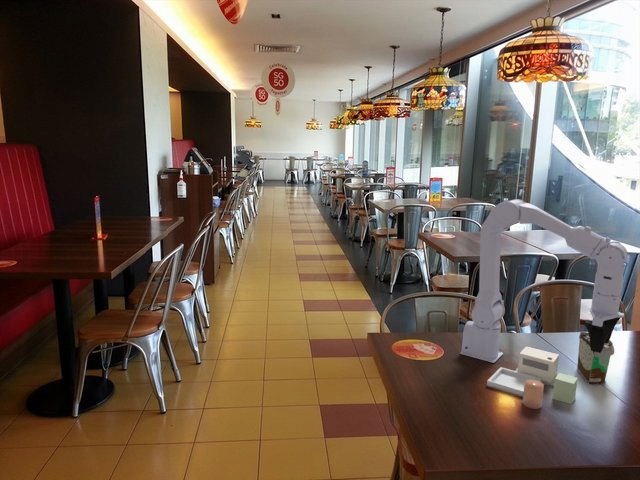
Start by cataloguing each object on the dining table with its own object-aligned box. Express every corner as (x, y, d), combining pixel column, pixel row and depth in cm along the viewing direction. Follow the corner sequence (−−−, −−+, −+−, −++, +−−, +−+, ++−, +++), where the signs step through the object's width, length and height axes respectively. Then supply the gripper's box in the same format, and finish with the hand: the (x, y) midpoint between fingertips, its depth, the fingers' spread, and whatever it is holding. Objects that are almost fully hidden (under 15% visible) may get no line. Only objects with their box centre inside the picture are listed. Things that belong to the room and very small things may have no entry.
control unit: (512, 375, 125) (514, 352, 124) (521, 365, 131) (523, 343, 130) (554, 387, 119) (557, 363, 118) (561, 376, 125) (564, 353, 124)
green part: (552, 398, 114) (554, 378, 113) (556, 392, 117) (559, 372, 116) (571, 404, 111) (574, 383, 111) (575, 397, 115) (577, 377, 114)
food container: (618, 390, 119) (623, 351, 117) (590, 387, 120) (595, 348, 118) (600, 368, 131) (605, 333, 129) (575, 366, 132) (579, 330, 130)
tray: (486, 385, 119) (487, 380, 119) (500, 372, 127) (500, 367, 127) (529, 399, 113) (530, 393, 113) (541, 383, 121) (541, 378, 121)
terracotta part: (520, 404, 111) (522, 384, 110) (525, 398, 114) (527, 378, 113) (538, 410, 108) (541, 389, 107) (543, 403, 111) (545, 383, 110)
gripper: (620, 303, 109) (612, 360, 111) (631, 290, 120) (624, 343, 122) (585, 296, 113) (578, 351, 116) (599, 284, 124) (592, 335, 127)
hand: (599, 346), depth 119 cm, fingers open, 7 cm apart
